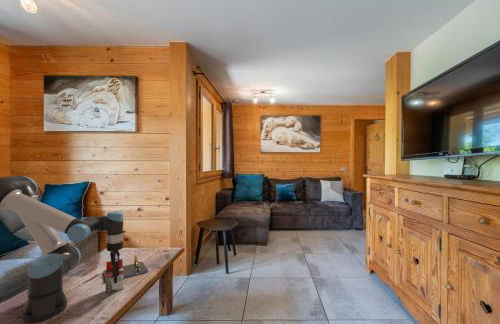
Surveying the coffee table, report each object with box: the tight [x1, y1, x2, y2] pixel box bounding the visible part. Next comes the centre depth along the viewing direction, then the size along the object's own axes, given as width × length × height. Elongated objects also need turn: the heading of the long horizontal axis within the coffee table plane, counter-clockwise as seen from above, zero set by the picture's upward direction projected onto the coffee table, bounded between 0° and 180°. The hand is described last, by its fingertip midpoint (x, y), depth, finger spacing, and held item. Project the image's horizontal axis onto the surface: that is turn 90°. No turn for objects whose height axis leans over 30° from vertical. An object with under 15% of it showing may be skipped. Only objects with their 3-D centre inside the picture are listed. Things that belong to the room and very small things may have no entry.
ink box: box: [105, 258, 125, 294], centre depth 123 cm, size 4×8×15 cm, turn 123°
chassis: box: [102, 255, 149, 283], centre depth 143 cm, size 22×16×7 cm
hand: (114, 286), depth 123 cm, fingers closed on ink box, 4 cm apart
